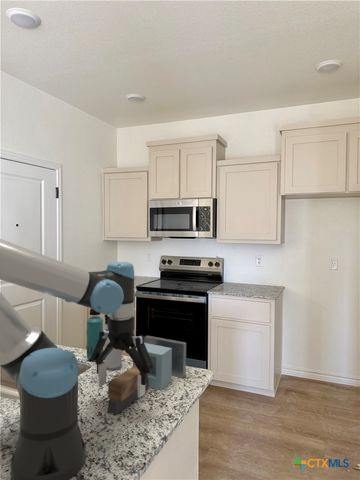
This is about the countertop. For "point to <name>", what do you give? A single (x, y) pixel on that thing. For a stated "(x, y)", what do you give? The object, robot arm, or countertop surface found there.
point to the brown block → (123, 384)
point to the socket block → (159, 366)
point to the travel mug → (112, 354)
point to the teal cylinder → (93, 332)
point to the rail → (118, 406)
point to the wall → (177, 353)
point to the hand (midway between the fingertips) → (121, 390)
